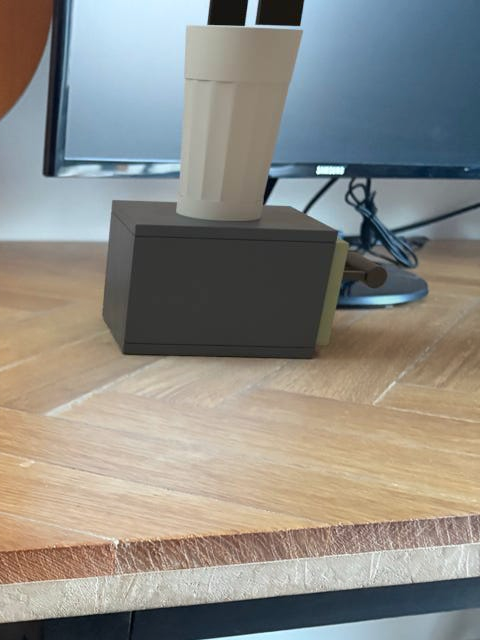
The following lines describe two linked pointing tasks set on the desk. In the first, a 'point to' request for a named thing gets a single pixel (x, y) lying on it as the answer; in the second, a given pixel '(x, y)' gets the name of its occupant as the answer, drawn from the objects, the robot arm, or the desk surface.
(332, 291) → the drawer
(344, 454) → the desk surface
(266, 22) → the robot arm
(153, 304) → the cabinet
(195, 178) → the cup
